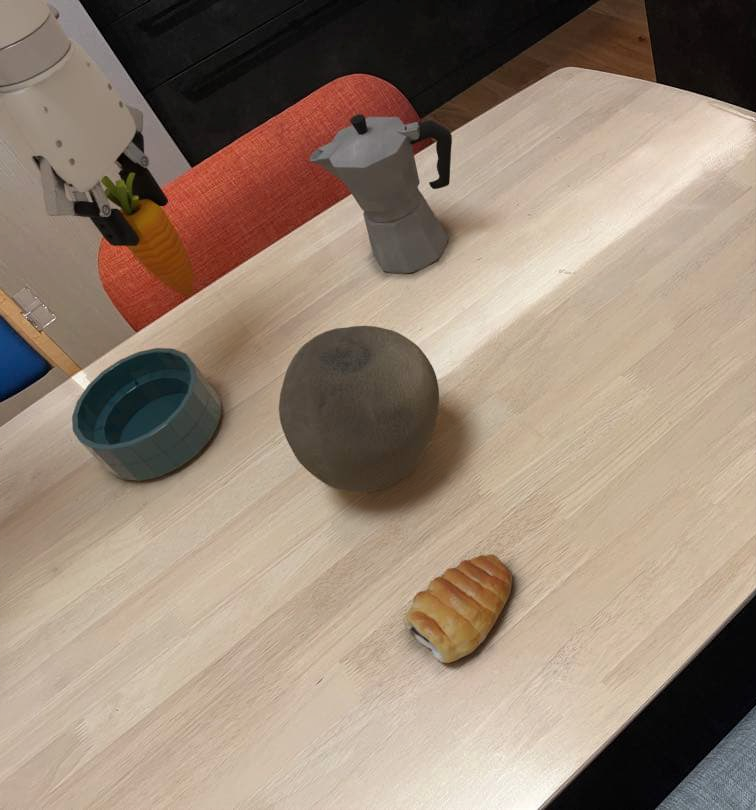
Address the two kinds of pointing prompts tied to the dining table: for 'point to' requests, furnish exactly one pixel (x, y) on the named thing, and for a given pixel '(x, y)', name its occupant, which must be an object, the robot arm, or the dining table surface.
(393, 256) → the coffeepot
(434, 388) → the brown coconut
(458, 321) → the dining table surface
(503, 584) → the pastry
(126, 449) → the bowl
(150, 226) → the carrot
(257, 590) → the dining table surface
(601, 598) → the dining table surface
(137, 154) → the robot arm
